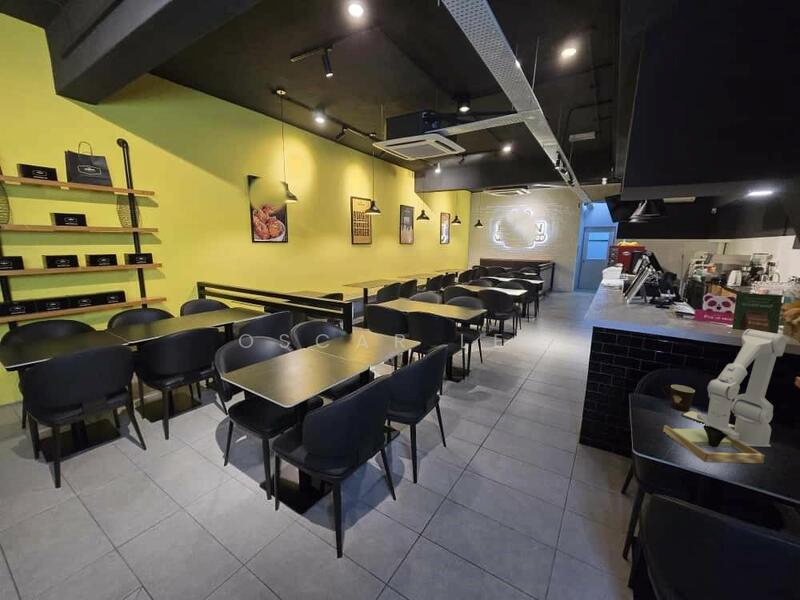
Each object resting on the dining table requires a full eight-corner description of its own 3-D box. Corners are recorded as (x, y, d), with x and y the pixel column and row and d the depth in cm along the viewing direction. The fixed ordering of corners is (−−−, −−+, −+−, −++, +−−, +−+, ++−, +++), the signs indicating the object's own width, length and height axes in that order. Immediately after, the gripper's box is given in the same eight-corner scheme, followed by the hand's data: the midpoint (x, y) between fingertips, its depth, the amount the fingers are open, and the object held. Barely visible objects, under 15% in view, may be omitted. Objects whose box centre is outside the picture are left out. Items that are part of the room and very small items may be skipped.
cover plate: (708, 434, 132) (709, 429, 132) (730, 447, 124) (731, 441, 123) (669, 434, 132) (670, 428, 132) (688, 447, 123) (689, 441, 123)
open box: (713, 433, 133) (714, 426, 132) (763, 463, 114) (764, 455, 113) (663, 432, 133) (664, 425, 133) (705, 461, 114) (706, 453, 114)
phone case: (680, 417, 147) (727, 434, 132) (680, 414, 146) (728, 431, 132) (690, 413, 151) (737, 429, 136) (690, 410, 150) (737, 426, 136)
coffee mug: (697, 413, 149) (700, 392, 148) (678, 412, 149) (681, 392, 148) (676, 401, 161) (679, 382, 159) (658, 401, 161) (661, 382, 160)
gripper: (690, 403, 127) (686, 435, 129) (726, 422, 113) (720, 458, 115) (709, 403, 127) (704, 435, 129) (747, 422, 113) (741, 458, 115)
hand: (713, 446), depth 122 cm, fingers closed
